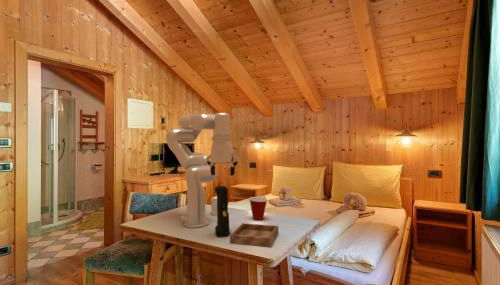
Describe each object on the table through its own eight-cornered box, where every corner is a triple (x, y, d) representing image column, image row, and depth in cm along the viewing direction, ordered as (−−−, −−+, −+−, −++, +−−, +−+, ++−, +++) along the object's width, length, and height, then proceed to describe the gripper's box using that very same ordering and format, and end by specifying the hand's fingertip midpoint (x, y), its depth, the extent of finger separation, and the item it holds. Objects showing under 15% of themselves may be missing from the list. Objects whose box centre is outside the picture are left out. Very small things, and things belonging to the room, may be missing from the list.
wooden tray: (230, 243, 113) (230, 235, 113) (242, 230, 130) (242, 223, 130) (271, 247, 108) (270, 238, 108) (278, 233, 125) (278, 225, 125)
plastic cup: (266, 222, 143) (266, 200, 143) (247, 221, 145) (247, 199, 145) (269, 217, 154) (268, 196, 154) (251, 216, 156) (251, 196, 156)
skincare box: (220, 216, 158) (220, 198, 158) (210, 215, 160) (210, 198, 160) (227, 211, 167) (227, 195, 168) (218, 211, 170) (218, 194, 170)
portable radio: (230, 237, 120) (230, 183, 121) (217, 238, 119) (217, 183, 119) (227, 231, 128) (226, 180, 128) (215, 233, 126) (214, 181, 127)
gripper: (202, 139, 123) (202, 175, 122) (236, 138, 118) (237, 176, 118) (208, 139, 130) (209, 174, 130) (241, 139, 125) (242, 174, 125)
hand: (222, 175), depth 124 cm, fingers open, 9 cm apart
